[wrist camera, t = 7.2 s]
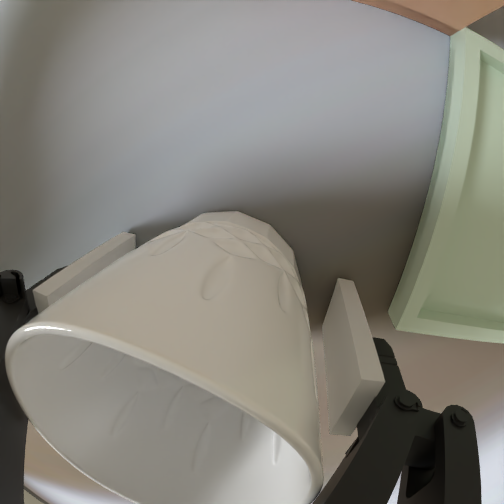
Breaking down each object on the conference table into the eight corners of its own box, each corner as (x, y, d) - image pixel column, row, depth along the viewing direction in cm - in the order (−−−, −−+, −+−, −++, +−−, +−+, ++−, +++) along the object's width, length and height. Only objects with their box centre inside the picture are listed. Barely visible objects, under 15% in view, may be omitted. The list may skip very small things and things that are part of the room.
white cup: (259, 163, 12) (148, 234, 3) (339, 311, 14) (366, 509, 5) (126, 246, 15) (-23, 363, 5) (208, 361, 16) (146, 517, 7)
